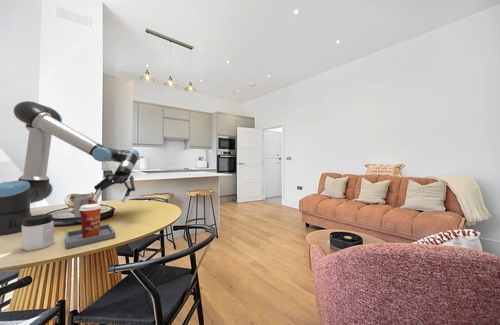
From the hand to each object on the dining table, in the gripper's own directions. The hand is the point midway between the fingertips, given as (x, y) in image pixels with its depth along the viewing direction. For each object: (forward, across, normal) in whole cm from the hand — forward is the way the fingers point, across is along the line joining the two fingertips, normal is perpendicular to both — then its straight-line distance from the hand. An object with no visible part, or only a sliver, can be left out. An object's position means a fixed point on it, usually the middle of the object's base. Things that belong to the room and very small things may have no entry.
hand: (108, 201), depth 101 cm
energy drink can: (+4, +19, -16) cm, 25 cm away
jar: (+25, +14, +6) cm, 29 cm away
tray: (+20, -1, +1) cm, 20 cm away
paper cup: (+20, -2, +1) cm, 20 cm away
